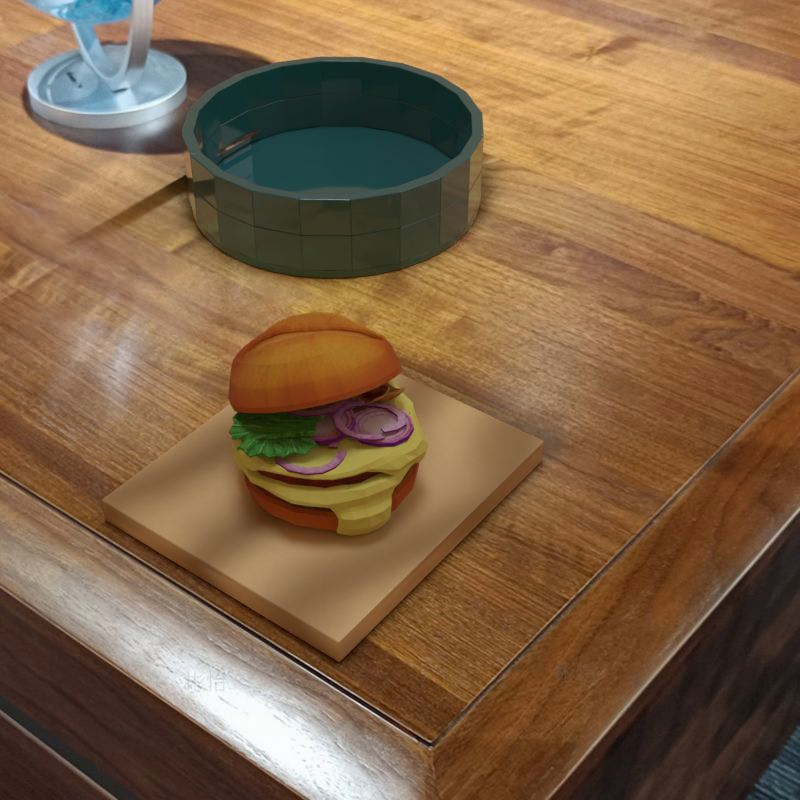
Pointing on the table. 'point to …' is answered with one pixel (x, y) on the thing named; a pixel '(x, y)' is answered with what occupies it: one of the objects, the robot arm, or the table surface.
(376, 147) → the bowl
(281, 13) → the table surface
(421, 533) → the board
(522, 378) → the table surface
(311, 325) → the cheeseburger
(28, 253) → the table surface
